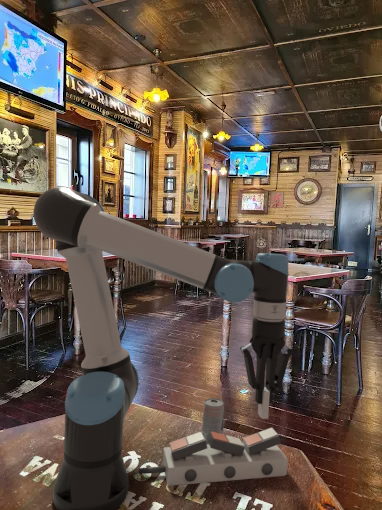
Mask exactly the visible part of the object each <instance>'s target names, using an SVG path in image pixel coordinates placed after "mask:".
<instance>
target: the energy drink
mask: <svg viewBox="0 0 382 510" xmlns="http://www.w3.org/2000/svg"><path fill="white" fill-rule="evenodd" d="M202 409H203V411H202V424H201V425H202V426H201V429H202V430H201V431H202V434H203V436H204V438H205V440H206V444H207V445H209V443H208V441H207V436H208V433H209V431H212V432H216V433H220V434H224V433H223V432H224V418H225V417H224V416H225V404H224V401H223V400H221V399H219V398H215V397H209V398H206V399H205V400H204V402H203V407H202Z"/></svg>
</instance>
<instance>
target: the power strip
mask: <svg viewBox="0 0 382 510" xmlns="http://www.w3.org/2000/svg"><path fill="white" fill-rule="evenodd" d="M241 442H242V444H243V441H241ZM243 445H244V444H243ZM159 473H161V474H163V473H164V476H165V480H166V485H167V486H169V487H171V486H180V485H193V484H204V483H217V482H228V481H240V480H248V479H263V478H264V479H265V478H272V477H275V478H276V477H285V475H288V457H287V456H286V455H285V453H284V452H283V451H282V450H281V448H279V446H278V445H275V446H273V447H270V448H268V449H265V450H262V451H260V452H257V453H254V454H252V455H250V454H249V453H248V451H247V450H246V448H245V449H244V452H243V455H242V456H241V455H237V454H233V453H229V452H225V451H221V450H217V449H213V448H211V447H210V445H207V449H204V450H202V451H199V452H196V453H193V454H191V455H188V456H185V457H183V458H180V459H177V460H173V456H172V452H171V449H170V446H167V447H165V446H164V447H163V451H162V466H151V467H138V475H149V474H159Z"/></svg>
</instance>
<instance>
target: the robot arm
mask: <svg viewBox="0 0 382 510" xmlns="http://www.w3.org/2000/svg"><path fill="white" fill-rule="evenodd" d="M32 215H33V220H34V222H35V225H36V227H37V229H38V230H39V231H40V233H41V234H43V236H46V237H47V238H49V239H50V240H54V242H55V246H56V251H57V254H59V255H60V256H62V257H63V258H64V259H65V262H66V265H67V266H66V267H67V271H68V275H69V276H68V277H69V281H70V286H71V290H72V295H73V300H74V305H75V310H76V314H77V319H78V325H79V329H80V333H81V337H82V338H81V339H82V343H83V349H84V353H85V357H84V359H83V360H82V362H81V365H80V367H81V373H82V375H80V376H77V377H76V378H75V379H74V380H73V381H72V382H70V385H69V386H68V388H67V391H66V395H65V396H66V397H65V400H64V409H65V411H64V413H65V416H64V440H63V442H64V443H63V459H62V462H61V465H60V466H59V467H60V468H59V469H58V472H57V476H56V478H55V480H54V483H53V487H52V488H53V490H52V502H53V505H54V508H55V509H56V510H116V509H118V508H119V507H120V506H121V505H122V504H124V502H125V500H126V499H127V497H128V494H129V483H130V482H129V481H130V480H129V474H128V471H127V468H126V464H125V460H124V457H123V453H122V452H123V450H122V449H123V434H124V431H123V430H124V421H125V417H126V415H127V413H128V411H129V409H130V407H131V405H132V403H133V401H134V399H135V397H136V396H137V393H138V391H139V386H140V385H139V373H138V370H137V368H136V366H135V364H134V363H133V362H132V360H131V357H130V356H131V355H130V352H129V350H127V349H126V348H124V347H122V344H121V343H122V341H121V340H120V339H121V338H120V332H119V327H118V324H117V319H116V314H115V309H114V304H113V298H112V294H111V290H110V289H111V288H110V285H109V278H108V273H107V269H106V265H105V264H106V263H105V260H104V255H103V252H104V253H108V254H110V255H112V256H116V257H117V258H120V259H123V260H124V261H128V262H131V263H133V264H135V265H139V266H142V267H144V268H146V269H149V270H152V271H155V272H158V273H160V274H163V275H166V276H168V277H170V278H173V279H175V280H178V281H180V282H183V283H186V284H189V285H192V286H193V287H196V288H199V289H202V290H204V291H207V292H208V293H211V294H214V295H217V296H218V297H219V298H221V299H222V300H224V301H226V302H228V303H234V304H235V303H241V302H243V301H245V300H246V299H247V298H249V297H250V295H251V294H252V293H254V295H253V310H252V315H253V318H252V326H251V328H252V329H251V338H250V340H249V343H248V344H247V345H246V344H245V346H244V345H242V346H240V348H239V349H240V352H241V354H242V355H243V359H244V365H245V372H246V377H247V382H248V385H249V386H250V387H251V389H253V390H255V397H254V399H255V402H256V403H257V404H258V406H257V408H258V409H257V415H258V416H259V418H260V419H261V420H269V409H270V404H272V403H273V400H274V399H273V398H274V393H275V392H276V389H277V388H278V389H280V388H281V387H282V385H283V382H284V379H285V375H286V371H287V367H288V364H289V360H290V358H291V356H292V355H293V354H294V353H295V352H294V349H293V347H290V346H289V345H287V344H286V341H285V338H284V337H285V328H286V322H285V320H284V319H286V312H287V294H288V281H289V275H290V274H289V258H288V256H287V255H285V254H283V253H266V252H260V253H257V254H256V258H255V260H238V259H228V258H226V257H222V256H219V255H218V254H217V255H216V254H215V253H212V252H209V251H206V250H204V249H202V248H199V247H197V246H194V245H191V244H189V243H187V242H183V241H181V240H178V239H176V238H173V237H170V236H168V235H165V234H162V233H160V232H157V231H154V230H152V229H150V228H147V227H144V226H142V225H139V224H136V223H134V222H131V221H129V220H126V219H124V218H121V217H118V216H115V215H113V214H110V213H108V212H105V209H104V207H103V206H102V204H100V202H99V201H98V200H97V199H95V198H94V197H93V196H92V195H89V194H87V193H84V192H79V191H78V190H77V191H76V190H74V189H72V188H69V187H65V186H64V187H63V186H62V187H60V186H58V187H52V188H49V189H47V190H46V191H44V192H43V193H42V194H40V195H39V197H38V198H37V199H36V201H35V204H34V206H33V214H32ZM253 351H254V353H255V355H256V356H255V357H256V367H254V359H253V357H252V355H253ZM278 355H279V358H278ZM255 369H256V370H255Z"/></svg>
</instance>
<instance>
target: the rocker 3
mask: <svg viewBox="0 0 382 510" xmlns="http://www.w3.org/2000/svg"><path fill="white" fill-rule="evenodd" d="M242 442H243V444H244V447H245V448H246V450H247V451H248V453H249V454H250V455H252V454H254V453H257V452H260V451H262V450H265V449H268V448H270V447H273V446H275V445H277V446H278V445H280V444H282V442H281V438H280V435H279V433H278V432H277V430H275V429H274V428H273V426H272V427H269V428H266V429H263V430H261V431H258V432H255V433H252V434H250V435H247V436H244V437H242Z"/></svg>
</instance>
